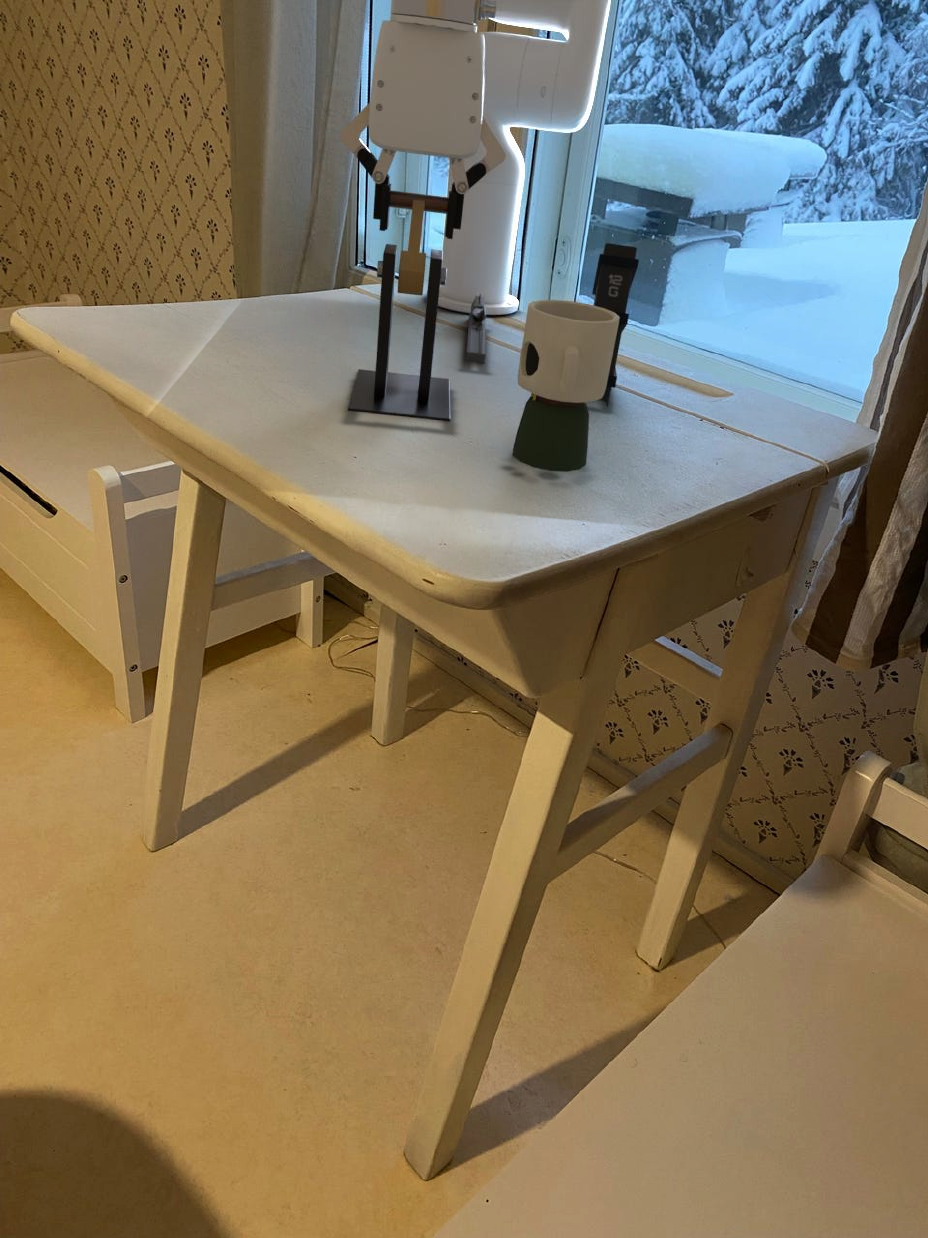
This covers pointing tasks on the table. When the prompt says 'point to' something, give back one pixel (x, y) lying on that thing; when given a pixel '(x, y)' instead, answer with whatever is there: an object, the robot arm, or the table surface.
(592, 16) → the robot arm
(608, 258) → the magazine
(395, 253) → the stand
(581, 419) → the character mug
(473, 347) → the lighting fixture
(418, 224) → the switch lever
